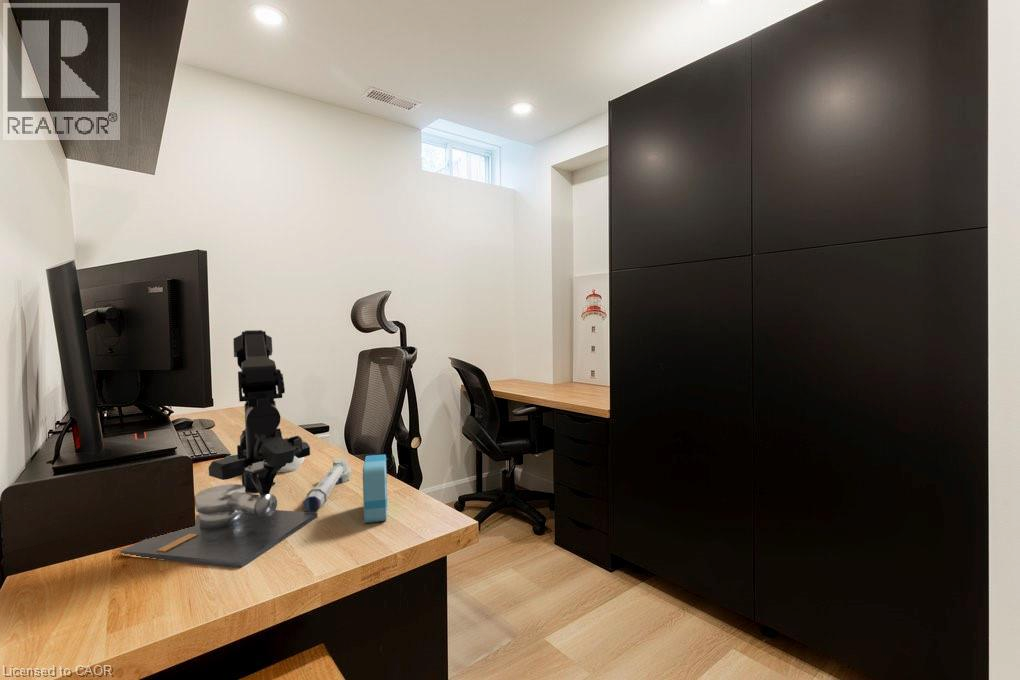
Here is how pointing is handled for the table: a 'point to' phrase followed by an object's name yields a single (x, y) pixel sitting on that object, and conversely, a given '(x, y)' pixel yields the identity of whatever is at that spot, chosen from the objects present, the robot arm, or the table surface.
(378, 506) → the data package
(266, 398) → the robot arm
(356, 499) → the table surface
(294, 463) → the lidded jar
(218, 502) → the dryer elbow
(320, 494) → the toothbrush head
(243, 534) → the cutting board
